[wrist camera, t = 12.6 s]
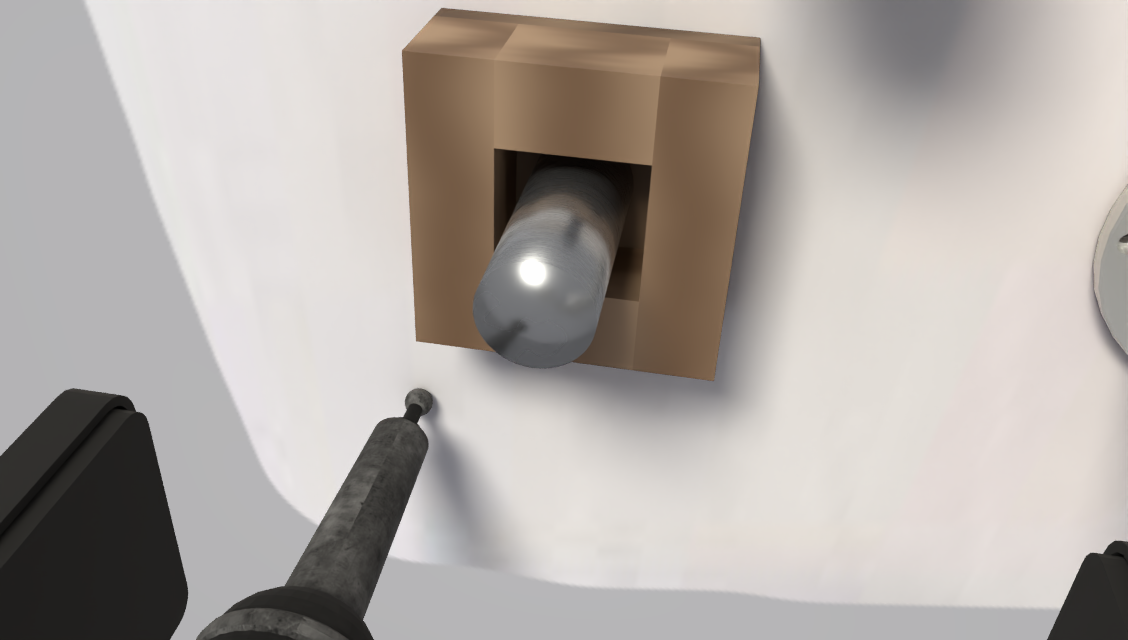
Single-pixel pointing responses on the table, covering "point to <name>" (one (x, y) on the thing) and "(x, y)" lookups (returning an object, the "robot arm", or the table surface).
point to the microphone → (341, 545)
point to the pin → (554, 261)
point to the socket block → (586, 130)
